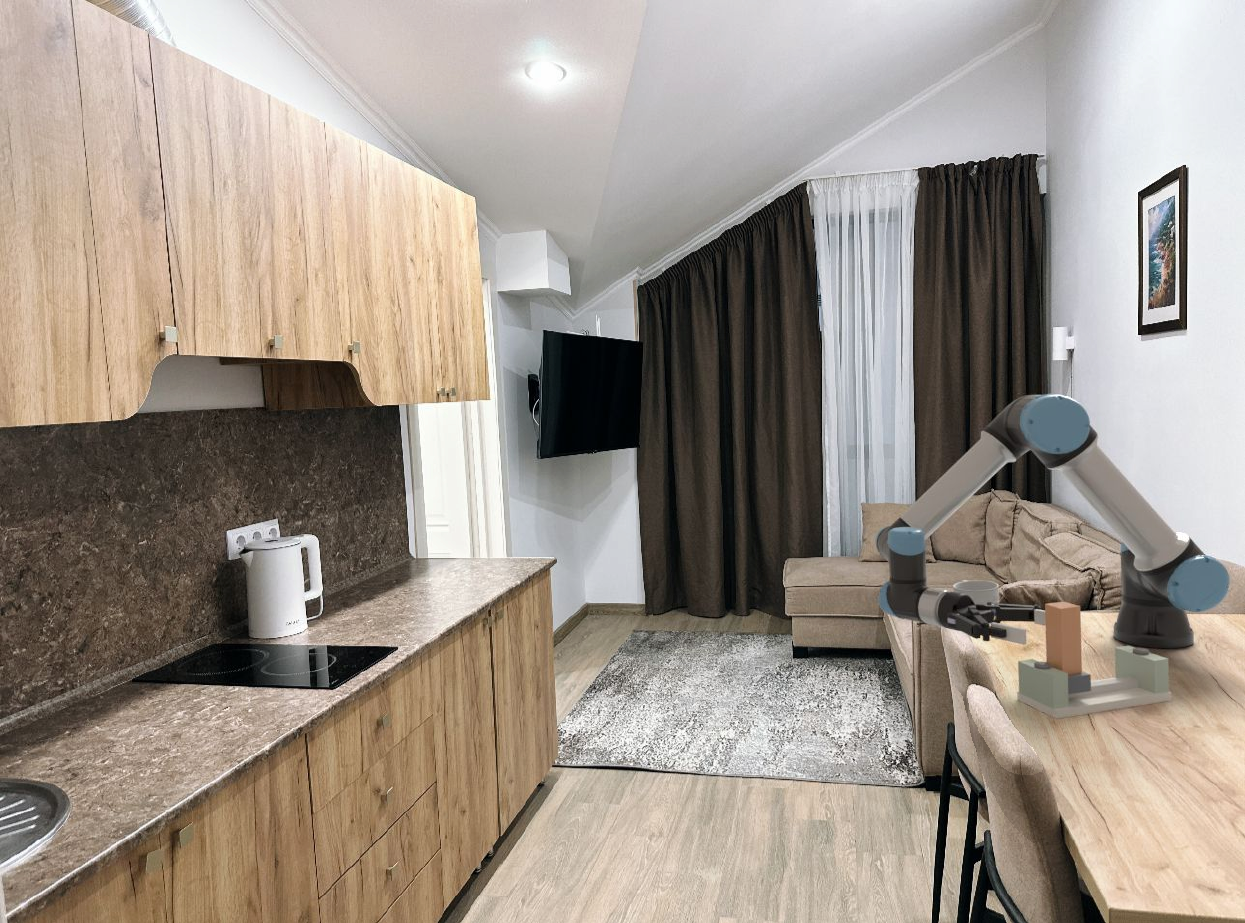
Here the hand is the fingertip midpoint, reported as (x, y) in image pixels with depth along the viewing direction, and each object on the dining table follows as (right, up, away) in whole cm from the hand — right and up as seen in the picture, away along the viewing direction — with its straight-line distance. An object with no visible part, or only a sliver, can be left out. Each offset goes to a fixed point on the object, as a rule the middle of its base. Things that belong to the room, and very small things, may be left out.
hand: (1047, 629), depth 155 cm
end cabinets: (+8, -11, 0) cm, 14 cm away
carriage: (+2, -10, -1) cm, 10 cm away
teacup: (+13, -9, +64) cm, 66 cm away
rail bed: (+8, -13, 0) cm, 15 cm away
